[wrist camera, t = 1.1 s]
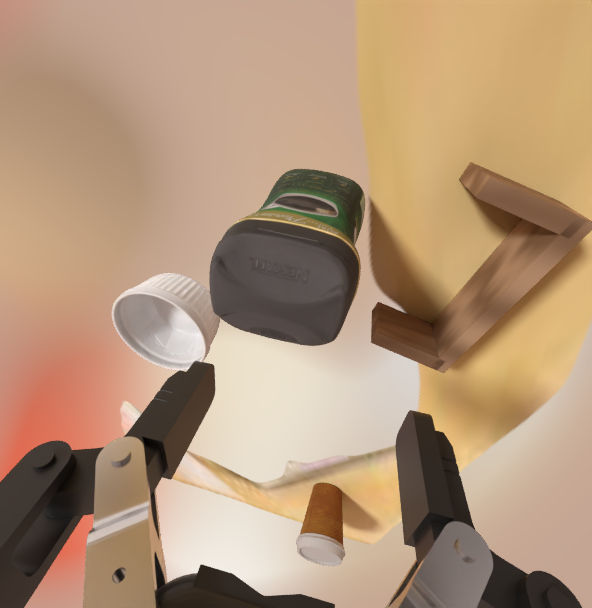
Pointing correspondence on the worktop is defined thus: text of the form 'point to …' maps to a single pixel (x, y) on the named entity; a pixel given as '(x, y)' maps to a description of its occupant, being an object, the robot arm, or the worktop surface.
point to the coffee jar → (292, 260)
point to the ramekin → (167, 320)
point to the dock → (487, 274)
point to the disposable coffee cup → (323, 527)
